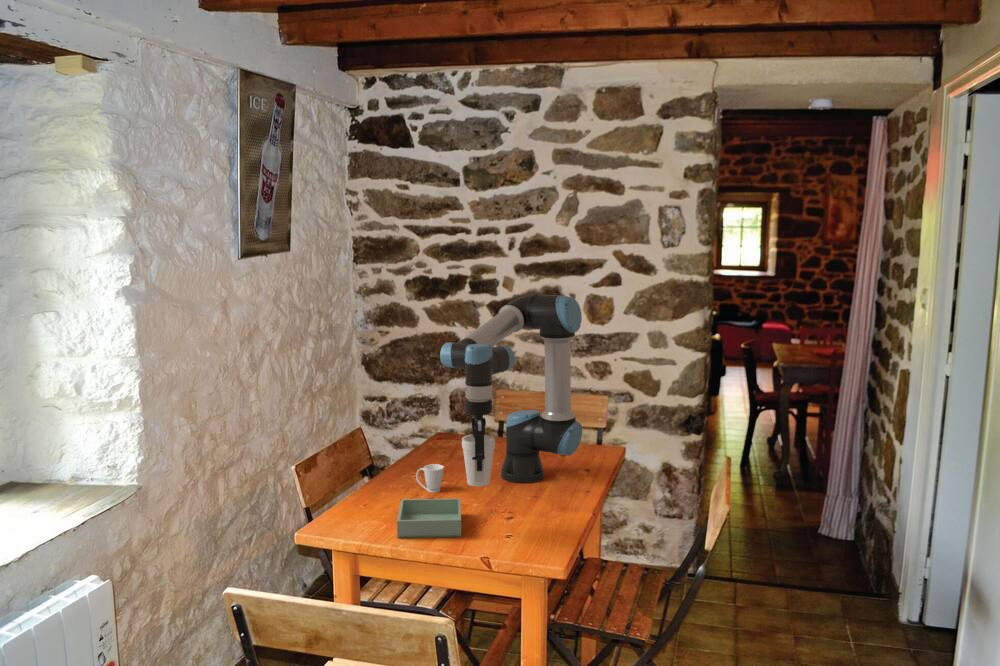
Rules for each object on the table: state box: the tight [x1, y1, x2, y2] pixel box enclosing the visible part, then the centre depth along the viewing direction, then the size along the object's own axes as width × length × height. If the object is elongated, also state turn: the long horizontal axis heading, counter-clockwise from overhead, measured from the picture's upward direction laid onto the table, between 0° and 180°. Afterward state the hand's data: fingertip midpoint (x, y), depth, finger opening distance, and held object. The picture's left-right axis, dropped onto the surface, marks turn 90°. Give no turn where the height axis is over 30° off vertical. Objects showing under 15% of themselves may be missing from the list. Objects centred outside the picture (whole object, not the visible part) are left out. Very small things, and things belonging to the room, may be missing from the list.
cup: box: [415, 463, 445, 493], centre depth 267 cm, size 7×10×8 cm
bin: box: [396, 498, 462, 539], centre depth 236 cm, size 18×18×5 cm
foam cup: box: [461, 434, 496, 487], centre depth 230 cm, size 10×9×13 cm
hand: (478, 475), depth 231 cm, fingers closed on foam cup, 9 cm apart
